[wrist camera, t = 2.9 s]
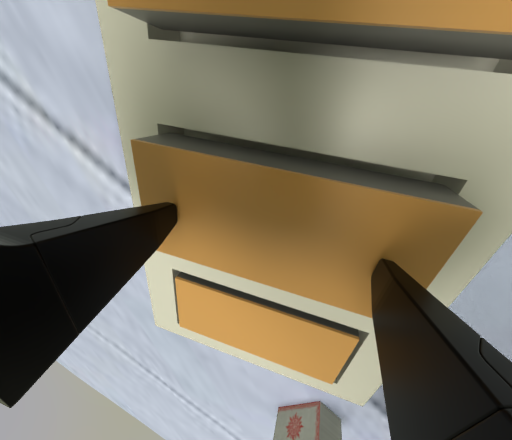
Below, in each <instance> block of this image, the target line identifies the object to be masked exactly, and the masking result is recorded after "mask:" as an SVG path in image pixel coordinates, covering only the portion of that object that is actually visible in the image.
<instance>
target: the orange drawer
mask: <svg viewBox="0 0 512 440" xmlns="http://www.w3.org/2000/svg"><path fill="white" fill-rule="evenodd" d="M130 141H131V147H132V153H133V159H134V165H135V171H136V177H137V183H138V189H139V195H140V201H141V206H145V205H151V204H157V203H163V202H170V203H174V204H175V205H176V206H177V218H178V220H177V224H176V225H175V227H174V228H173V229H172V231H171V232H170V233H169V235H168V236H167V237H166V239H165V240H164V242H163V243H162V244H161V245H160V247H159V248H158V249H157V250H156V251H159V252H162V253H166V254H169V255H172V256H175V257H178V258H182V259H185V260H188V261H191V262H194V263H197V264H201V265H204V266H207V267H210V268H213V269H217V270H220V271H223V272H226V273H229V274H233V275H236V276H239V277H242V278H245V279H248V280H252V281H255V282H258V283H261V284H264V285H268V286H271V287H274V288H277V289H280V290H283V291H287V292H290V293H293V294H296V295H299V296H303V297H306V298H309V299H312V300H315V301H319V302H322V303H325V304H328V305H331V306H334V307H338V308H341V309H344V310H347V311H350V312H354V313H357V314H360V315H363V316H366V317H369V318H372V304H371V276H372V273H373V271H374V269H375V267H376V265H377V264H378V262H379V260H380V259H382V258H383V259H387V260H391V261H394V262H395V263H396V264H397V265H398V266H399V267H401V268H402V269H403V270H404V271H405V272H406V273H408V274H409V275H410V276H411V277H412V278H413V279H415V280H416V281H417V282H418V283H419V284H420V285H422V286H423V287H424V288H425V289H427V288H428V287H429V285H430V284H431V282H432V281H433V280H434V278H435V277H436V276H437V274H438V273H439V272H440V270H441V269H442V268H443V266H444V265H445V263H446V262H447V261H448V259H449V258H450V257H451V255H452V254H453V253H454V251H455V250H456V249H457V247H458V246H459V244H460V243H461V242H462V240H463V239H464V238H465V236H466V235H467V234H468V232H469V231H470V230H471V228H472V227H473V225H474V224H475V223H476V221H477V220H478V219H479V217H480V216H481V215H482V213H483V212H482V211H481V210H479V209H478V208H476V207H475V206H474V205H472V204H471V203H469V202H468V201H466V200H465V199H464V198H462V197H461V196H459V195H458V194H457V193H455V192H454V191H452V190H451V189H449V188H448V187H447V186H445V185H443V184H438V183H432V182H427V181H422V180H417V179H411V178H406V177H401V176H396V175H390V174H385V173H380V172H375V171H369V170H364V169H359V168H354V167H348V166H343V165H338V164H332V163H327V162H322V161H317V160H311V159H306V158H301V157H296V156H290V155H285V154H280V153H275V152H269V151H264V150H259V149H254V148H248V147H243V146H238V145H233V144H227V143H222V142H217V141H212V140H206V139H201V138H196V137H190V136H185V135H180V134H175V133H165V134H159V135H154V136H148V137H143V138H137V139H132V140H130Z"/></svg>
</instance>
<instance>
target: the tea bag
mask: <svg viewBox="0 0 512 440" xmlns="http://www.w3.org/2000/svg"><path fill="white" fill-rule="evenodd" d="M273 440H342V434H341V419H340V418H338V417H337V416H336V415H335V414H334V413H333V412H332V411H331V410H329V409H328V408H327V407H326V406H325V405H324V404H323V403H321V402H320V401H319V402H312V403H305V404H299V405H292V406H285V407H279V408H278V414H277V420H276V426H275V432H274V438H273Z"/></svg>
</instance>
